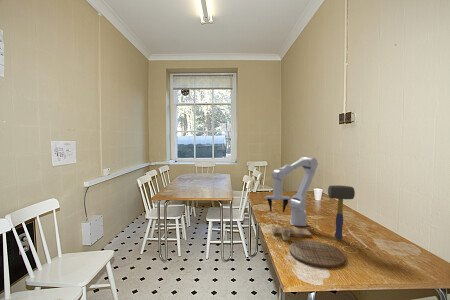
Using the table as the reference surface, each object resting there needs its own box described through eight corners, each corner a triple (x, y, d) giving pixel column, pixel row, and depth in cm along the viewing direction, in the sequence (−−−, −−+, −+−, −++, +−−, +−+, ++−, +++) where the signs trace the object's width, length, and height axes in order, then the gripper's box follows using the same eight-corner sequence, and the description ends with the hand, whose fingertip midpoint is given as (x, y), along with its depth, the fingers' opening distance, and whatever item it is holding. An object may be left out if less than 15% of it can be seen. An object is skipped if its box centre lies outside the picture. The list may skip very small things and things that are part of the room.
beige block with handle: (285, 231, 146) (285, 222, 146) (290, 241, 132) (290, 231, 132) (279, 231, 146) (279, 222, 146) (283, 240, 133) (283, 230, 132)
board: (307, 231, 147) (307, 228, 147) (311, 237, 138) (311, 234, 138) (271, 229, 148) (271, 226, 148) (273, 235, 139) (273, 232, 139)
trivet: (353, 272, 104) (353, 267, 103) (292, 265, 108) (292, 261, 107) (336, 246, 128) (336, 242, 128) (287, 241, 132) (287, 238, 132)
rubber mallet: (328, 241, 134) (331, 186, 132) (324, 235, 141) (327, 183, 140) (352, 243, 132) (356, 187, 130) (347, 237, 140) (350, 184, 138)
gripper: (288, 188, 155) (287, 209, 156) (265, 187, 156) (264, 208, 156) (290, 191, 148) (290, 213, 149) (266, 190, 149) (265, 212, 149)
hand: (277, 211), depth 152 cm, fingers open, 7 cm apart
